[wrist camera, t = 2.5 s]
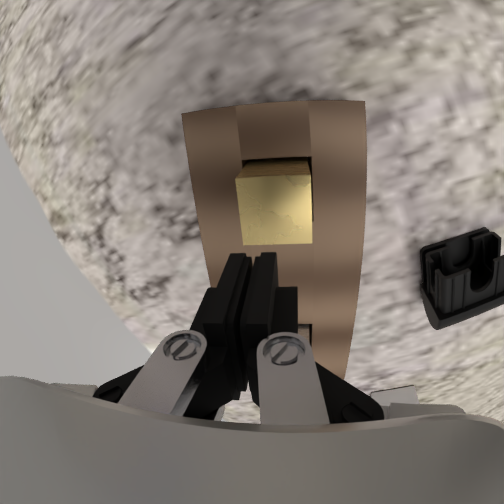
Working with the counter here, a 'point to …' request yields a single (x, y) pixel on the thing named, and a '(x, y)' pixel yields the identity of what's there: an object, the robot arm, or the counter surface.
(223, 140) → the walnut block
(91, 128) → the counter surface
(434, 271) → the end cap
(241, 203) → the brass peg
